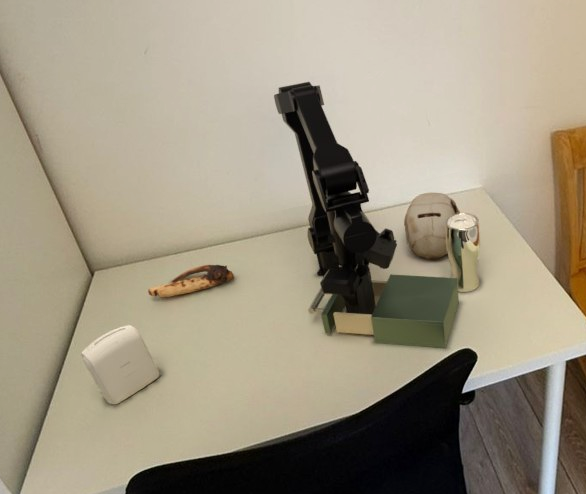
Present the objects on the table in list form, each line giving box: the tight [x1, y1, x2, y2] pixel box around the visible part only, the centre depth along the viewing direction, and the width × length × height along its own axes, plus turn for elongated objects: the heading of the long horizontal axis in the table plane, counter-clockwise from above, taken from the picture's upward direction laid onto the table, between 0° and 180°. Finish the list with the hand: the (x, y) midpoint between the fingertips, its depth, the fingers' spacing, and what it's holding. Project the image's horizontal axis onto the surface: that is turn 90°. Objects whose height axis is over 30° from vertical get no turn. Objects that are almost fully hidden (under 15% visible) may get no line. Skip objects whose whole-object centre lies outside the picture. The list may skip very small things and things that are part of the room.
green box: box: [371, 274, 460, 349], centre depth 122 cm, size 14×14×6 cm
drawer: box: [307, 279, 388, 336], centre depth 125 cm, size 17×13×5 cm
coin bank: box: [403, 192, 461, 260], centre depth 143 cm, size 16×17×13 cm
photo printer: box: [80, 324, 161, 405], centre depth 112 cm, size 10×4×12 cm, turn 140°
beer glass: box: [445, 212, 481, 293], centre depth 129 cm, size 7×7×15 cm
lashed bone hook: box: [147, 264, 235, 298], centre depth 139 cm, size 9×5×18 cm
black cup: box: [344, 264, 376, 315], centre depth 123 cm, size 6×6×10 cm
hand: (358, 297), depth 123 cm, fingers closed on black cup, 6 cm apart
